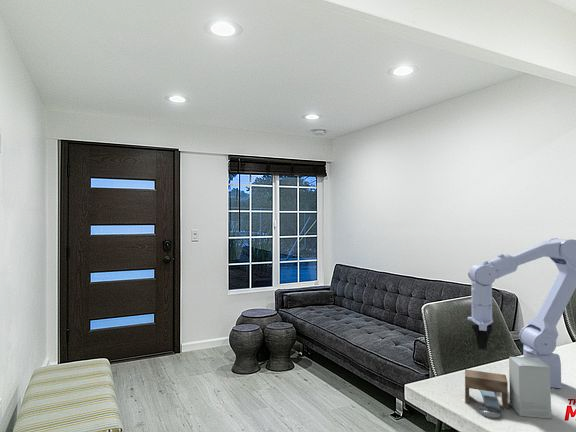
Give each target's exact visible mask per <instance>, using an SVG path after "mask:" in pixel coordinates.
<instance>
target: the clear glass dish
mask: <svg viewBox="0 0 576 432" xmlns="http://www.w3.org/2000/svg"><path fill="white" fill-rule="evenodd" d="M478 411H479V414H480V415H481V416H483V417H484V418H488V419H492V420H500V419H502V410H500V408H499V409H497V408H494V407H490V406H485V405H483V406H480V407H479V410H478Z"/></svg>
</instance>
